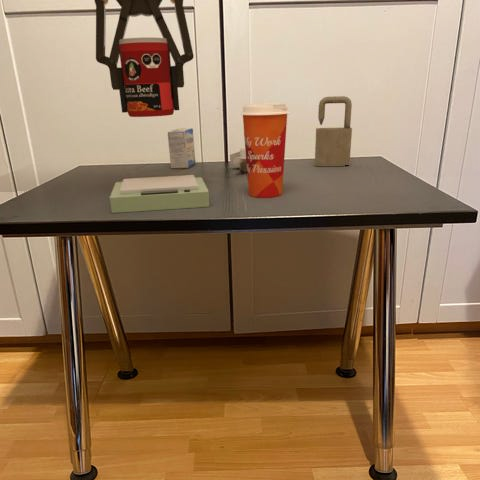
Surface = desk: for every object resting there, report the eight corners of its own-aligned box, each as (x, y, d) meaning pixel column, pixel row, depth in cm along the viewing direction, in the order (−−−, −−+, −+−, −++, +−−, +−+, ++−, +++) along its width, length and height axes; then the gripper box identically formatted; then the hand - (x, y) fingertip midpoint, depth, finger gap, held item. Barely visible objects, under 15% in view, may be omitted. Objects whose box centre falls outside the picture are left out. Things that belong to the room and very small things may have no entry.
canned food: (118, 117, 79) (107, 39, 74) (146, 114, 85) (138, 42, 80) (157, 116, 76) (148, 36, 71) (183, 113, 82) (177, 39, 77)
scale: (111, 213, 78) (108, 193, 77) (117, 195, 90) (115, 178, 89) (209, 206, 80) (208, 187, 79) (202, 190, 92) (201, 174, 91)
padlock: (314, 164, 118) (317, 96, 111) (348, 163, 116) (353, 95, 110) (314, 166, 114) (317, 97, 107) (349, 166, 113) (354, 96, 106)
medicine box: (188, 168, 117) (185, 130, 113) (170, 169, 117) (167, 131, 114) (195, 163, 124) (193, 127, 120) (179, 164, 124) (176, 128, 121)
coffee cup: (236, 197, 86) (233, 105, 79) (252, 188, 92) (250, 103, 86) (281, 200, 83) (281, 105, 76) (294, 190, 90) (296, 102, 83)
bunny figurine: (268, 147, 117) (273, 147, 103) (268, 169, 119) (273, 172, 105) (229, 148, 117) (229, 148, 103) (230, 170, 119) (229, 173, 105)
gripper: (201, -53, 75) (210, 107, 85) (64, -53, 72) (89, 112, 82) (206, -67, 68) (215, 109, 78) (54, -67, 65) (84, 114, 75)
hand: (151, 110), depth 80 cm, fingers closed on canned food, 8 cm apart
